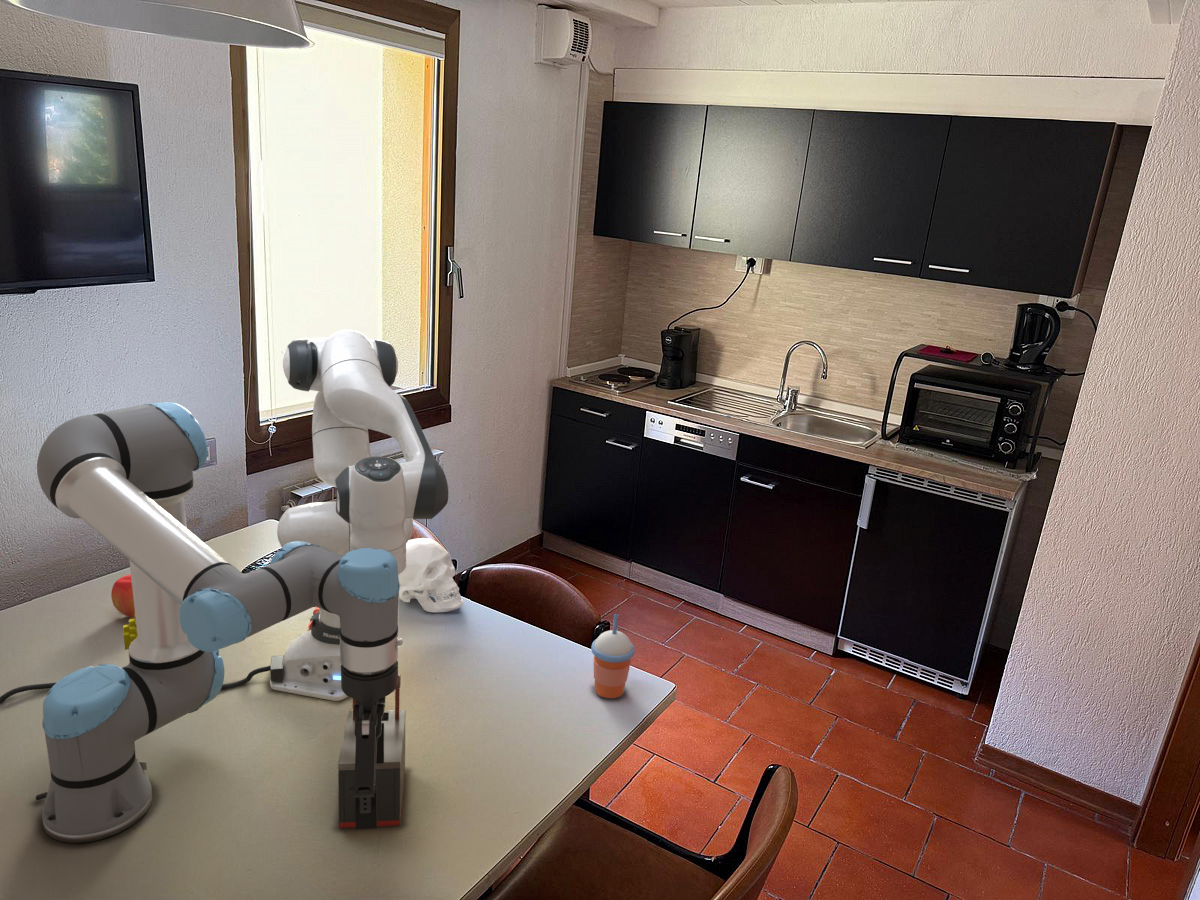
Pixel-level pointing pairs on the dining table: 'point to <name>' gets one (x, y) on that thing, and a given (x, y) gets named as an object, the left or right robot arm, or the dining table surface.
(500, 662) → the dining table surface
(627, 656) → the cup with straw
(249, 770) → the dining table surface
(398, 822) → the chest
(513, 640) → the dining table surface
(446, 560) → the skull
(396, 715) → the lid
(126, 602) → the apple
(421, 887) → the dining table surface
